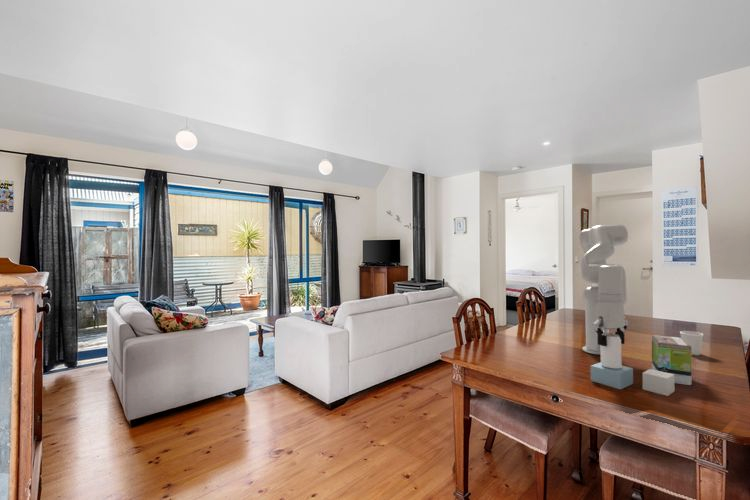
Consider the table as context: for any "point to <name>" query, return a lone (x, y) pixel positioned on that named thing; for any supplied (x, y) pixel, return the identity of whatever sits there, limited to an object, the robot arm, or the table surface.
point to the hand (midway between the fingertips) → (611, 344)
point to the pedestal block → (612, 376)
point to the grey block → (658, 382)
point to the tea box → (672, 357)
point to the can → (611, 352)
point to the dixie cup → (693, 340)
